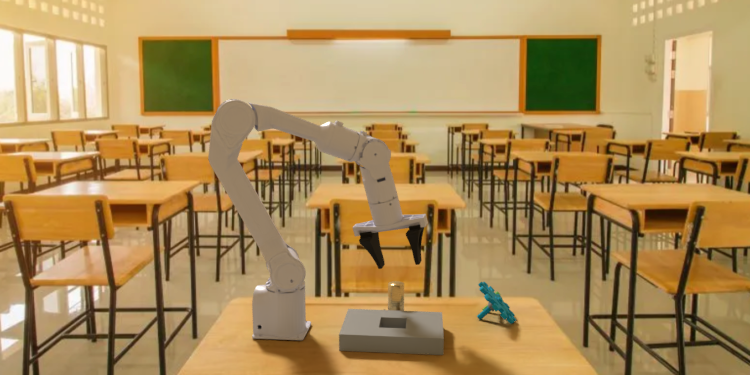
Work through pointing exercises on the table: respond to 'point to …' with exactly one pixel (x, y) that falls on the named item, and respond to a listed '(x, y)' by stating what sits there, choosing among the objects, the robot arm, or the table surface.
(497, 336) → the table surface
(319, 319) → the table surface
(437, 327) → the hole plate
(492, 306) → the teal knobby piece
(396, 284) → the brass pin
